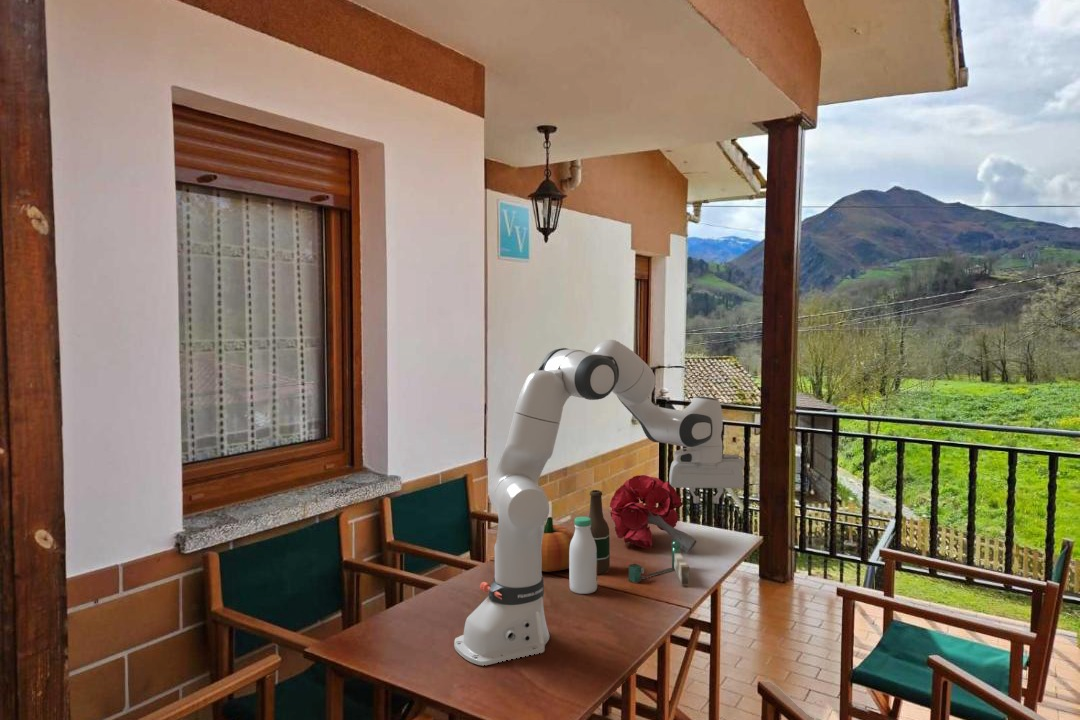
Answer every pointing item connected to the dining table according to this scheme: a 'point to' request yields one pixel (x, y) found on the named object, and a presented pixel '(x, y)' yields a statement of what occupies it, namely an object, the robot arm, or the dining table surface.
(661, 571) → the grey metal rod
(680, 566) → the grey rectangular bar
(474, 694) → the dining table surface
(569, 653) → the dining table surface
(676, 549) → the hinge post
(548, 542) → the pumpkin
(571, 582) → the milk bottle
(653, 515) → the bouquet
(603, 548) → the beer bottle
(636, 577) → the dark green brushed box
